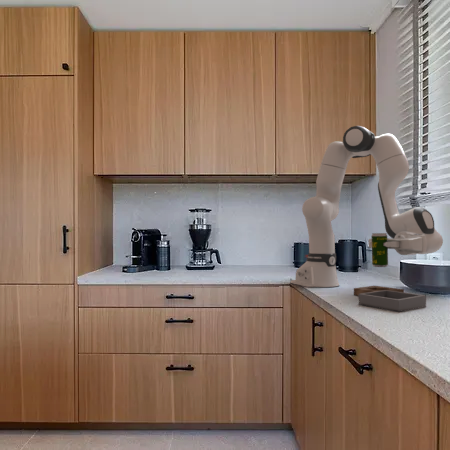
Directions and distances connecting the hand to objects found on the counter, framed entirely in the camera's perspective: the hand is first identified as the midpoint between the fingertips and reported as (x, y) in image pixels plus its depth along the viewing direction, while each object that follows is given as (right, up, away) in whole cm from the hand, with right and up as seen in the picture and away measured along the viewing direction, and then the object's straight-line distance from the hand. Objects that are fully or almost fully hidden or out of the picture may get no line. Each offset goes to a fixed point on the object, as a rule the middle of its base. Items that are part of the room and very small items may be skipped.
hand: (377, 244), depth 134 cm
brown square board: (+1, -19, +2) cm, 19 cm away
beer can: (+1, -8, 0) cm, 8 cm away
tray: (-2, -19, -17) cm, 25 cm away
